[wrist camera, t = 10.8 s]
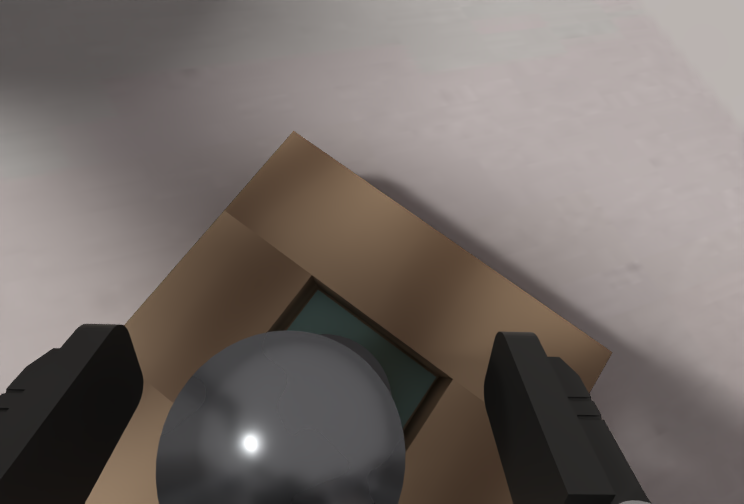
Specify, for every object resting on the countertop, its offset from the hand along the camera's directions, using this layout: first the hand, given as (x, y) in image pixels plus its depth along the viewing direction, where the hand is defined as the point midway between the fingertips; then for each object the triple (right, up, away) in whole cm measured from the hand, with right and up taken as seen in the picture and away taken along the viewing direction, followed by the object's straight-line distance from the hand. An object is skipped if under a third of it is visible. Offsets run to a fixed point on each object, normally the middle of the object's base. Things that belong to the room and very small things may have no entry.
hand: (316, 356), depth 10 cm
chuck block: (0, -3, +9) cm, 9 cm away
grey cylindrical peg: (0, -3, +7) cm, 8 cm away
